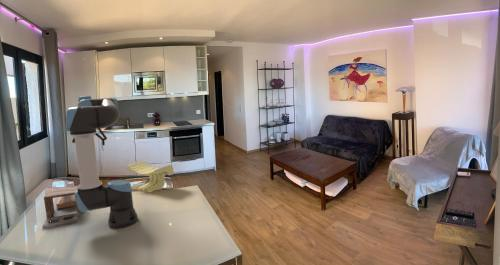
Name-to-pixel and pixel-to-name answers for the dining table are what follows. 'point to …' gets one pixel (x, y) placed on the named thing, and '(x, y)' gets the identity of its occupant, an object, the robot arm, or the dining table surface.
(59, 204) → the sled
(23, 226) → the dining table surface
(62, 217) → the tunnel
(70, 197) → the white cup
